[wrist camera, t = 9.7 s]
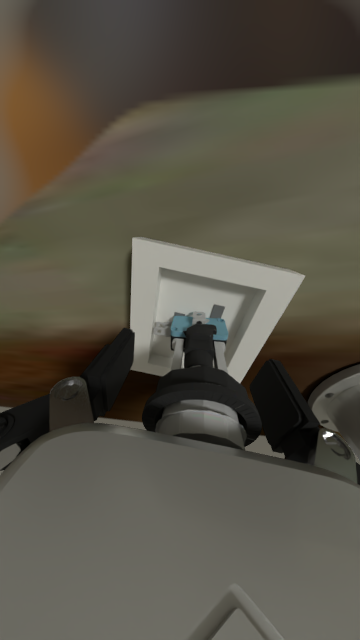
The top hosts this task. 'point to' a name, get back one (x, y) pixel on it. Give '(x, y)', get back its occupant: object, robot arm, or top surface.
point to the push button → (201, 388)
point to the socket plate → (204, 301)
